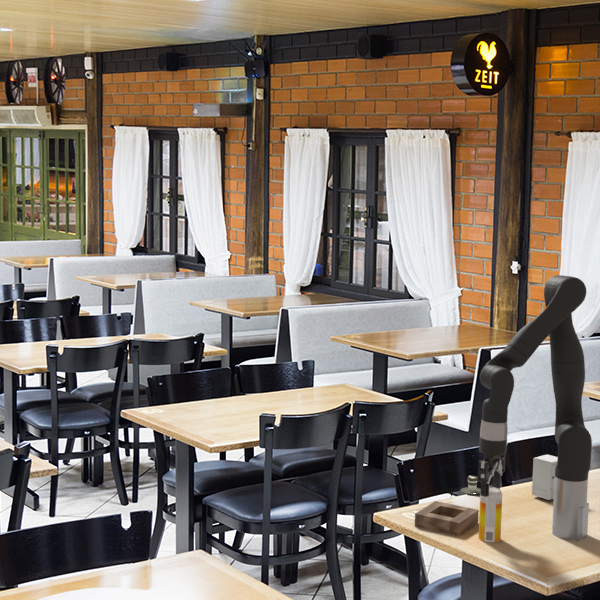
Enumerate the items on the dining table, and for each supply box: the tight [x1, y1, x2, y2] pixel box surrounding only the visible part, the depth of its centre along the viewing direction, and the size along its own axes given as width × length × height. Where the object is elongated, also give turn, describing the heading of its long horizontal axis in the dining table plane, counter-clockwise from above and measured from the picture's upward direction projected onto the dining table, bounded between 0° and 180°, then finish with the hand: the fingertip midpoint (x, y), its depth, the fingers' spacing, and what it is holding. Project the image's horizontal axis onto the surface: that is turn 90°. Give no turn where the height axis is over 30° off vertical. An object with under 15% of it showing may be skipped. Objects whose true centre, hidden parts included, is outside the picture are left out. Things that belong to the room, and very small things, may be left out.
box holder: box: [414, 500, 480, 537], centre depth 285 cm, size 14×14×4 cm
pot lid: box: [460, 475, 481, 496], centre depth 320 cm, size 12×12×5 cm
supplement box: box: [531, 454, 558, 501], centre depth 315 cm, size 7×7×13 cm
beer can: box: [478, 486, 503, 543], centre depth 273 cm, size 6×6×15 cm
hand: (490, 492), depth 273 cm, fingers open, 8 cm apart
